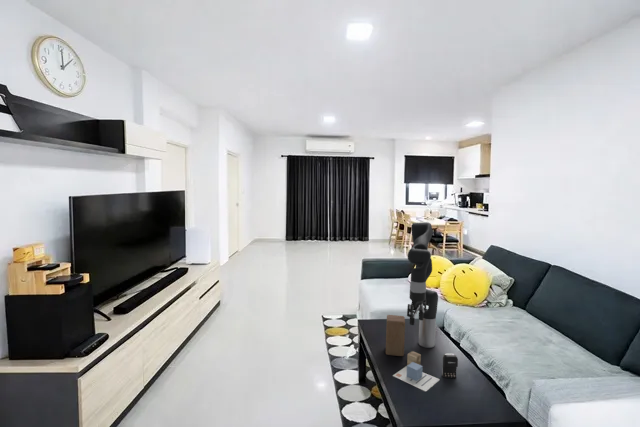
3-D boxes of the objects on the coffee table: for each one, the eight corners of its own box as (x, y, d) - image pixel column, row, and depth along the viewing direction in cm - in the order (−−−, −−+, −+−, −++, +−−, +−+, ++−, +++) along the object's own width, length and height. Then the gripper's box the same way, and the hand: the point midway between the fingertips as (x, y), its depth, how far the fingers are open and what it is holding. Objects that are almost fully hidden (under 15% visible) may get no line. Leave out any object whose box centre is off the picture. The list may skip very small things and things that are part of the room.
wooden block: (403, 357, 191) (405, 322, 189) (385, 355, 192) (386, 320, 191) (403, 348, 200) (404, 315, 199) (385, 347, 202) (386, 313, 201)
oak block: (412, 361, 186) (412, 351, 185) (420, 365, 182) (420, 354, 182) (407, 365, 182) (407, 354, 182) (415, 368, 179) (416, 357, 178)
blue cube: (412, 372, 175) (412, 361, 174) (422, 376, 171) (422, 366, 171) (406, 376, 171) (406, 365, 171) (416, 381, 167) (416, 370, 167)
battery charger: (443, 379, 170) (444, 356, 169) (441, 374, 174) (442, 353, 173) (458, 379, 170) (459, 357, 168) (455, 375, 173) (456, 353, 172)
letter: (407, 365, 182) (407, 365, 182) (439, 379, 169) (439, 379, 169) (392, 375, 172) (392, 375, 172) (425, 391, 159) (425, 391, 159)
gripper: (418, 285, 175) (416, 316, 176) (403, 291, 165) (401, 324, 166) (432, 288, 170) (430, 320, 171) (417, 295, 160) (415, 328, 161)
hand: (416, 322), depth 169 cm, fingers open, 8 cm apart
